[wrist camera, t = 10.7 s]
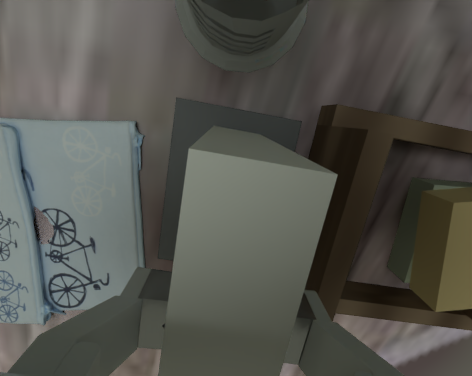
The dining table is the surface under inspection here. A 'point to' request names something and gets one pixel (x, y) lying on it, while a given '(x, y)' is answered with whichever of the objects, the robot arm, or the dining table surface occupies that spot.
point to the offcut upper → (444, 250)
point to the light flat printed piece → (67, 215)
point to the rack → (358, 206)
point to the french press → (242, 30)
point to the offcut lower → (413, 224)
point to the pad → (192, 129)
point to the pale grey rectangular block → (241, 254)
